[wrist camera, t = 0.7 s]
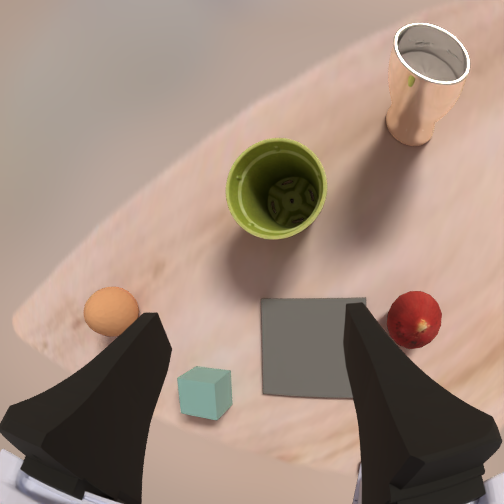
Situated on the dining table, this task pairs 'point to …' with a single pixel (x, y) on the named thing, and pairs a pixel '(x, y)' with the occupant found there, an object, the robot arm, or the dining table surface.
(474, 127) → the dining table surface
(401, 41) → the beer glass
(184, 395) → the cube
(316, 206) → the plant pot
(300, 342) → the mat
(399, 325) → the onion
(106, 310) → the egg
